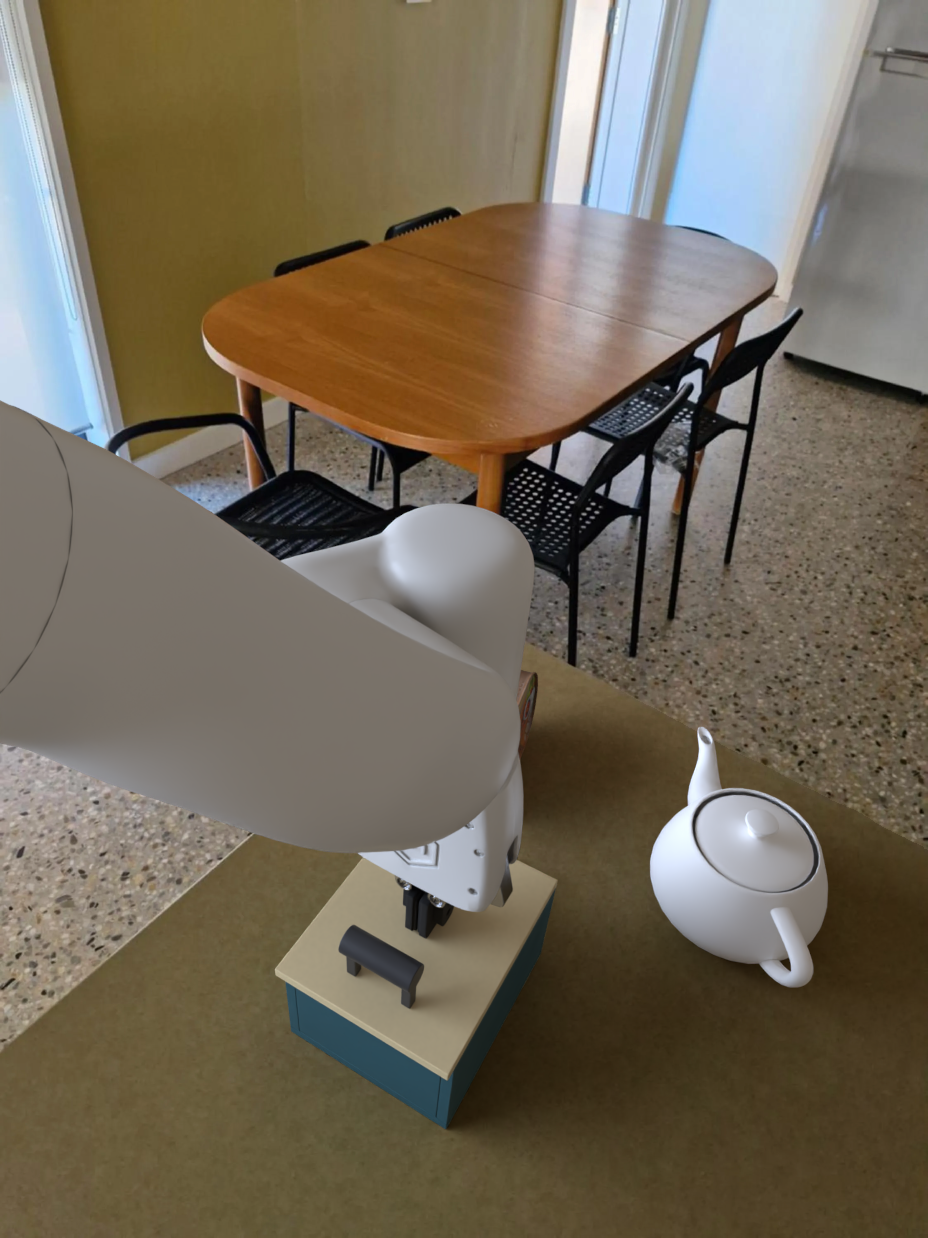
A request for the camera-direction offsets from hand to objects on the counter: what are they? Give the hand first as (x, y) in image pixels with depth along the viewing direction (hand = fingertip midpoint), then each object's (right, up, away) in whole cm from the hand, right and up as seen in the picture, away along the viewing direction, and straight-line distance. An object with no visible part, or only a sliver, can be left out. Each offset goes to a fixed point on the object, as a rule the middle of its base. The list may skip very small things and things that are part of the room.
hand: (427, 916), depth 59 cm
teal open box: (-1, -7, +6) cm, 10 cm away
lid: (0, -1, 0) cm, 1 cm away
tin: (+6, +6, +23) cm, 25 cm away
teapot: (+24, -3, +14) cm, 28 cm away
